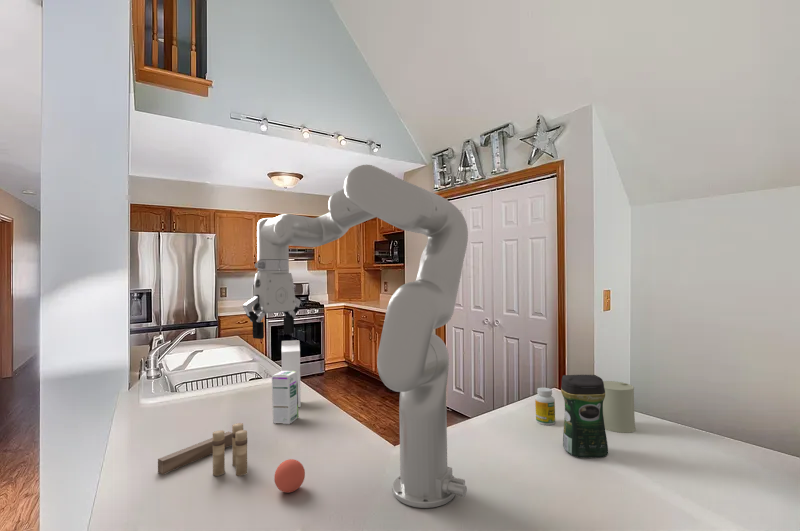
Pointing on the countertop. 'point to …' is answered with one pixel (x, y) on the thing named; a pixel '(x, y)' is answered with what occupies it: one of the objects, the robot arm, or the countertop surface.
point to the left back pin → (218, 453)
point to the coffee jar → (584, 416)
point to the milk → (292, 360)
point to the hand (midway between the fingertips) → (274, 335)
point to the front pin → (241, 452)
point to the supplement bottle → (545, 407)
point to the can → (619, 407)
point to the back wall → (189, 454)
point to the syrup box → (285, 397)
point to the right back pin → (234, 429)
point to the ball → (289, 475)
